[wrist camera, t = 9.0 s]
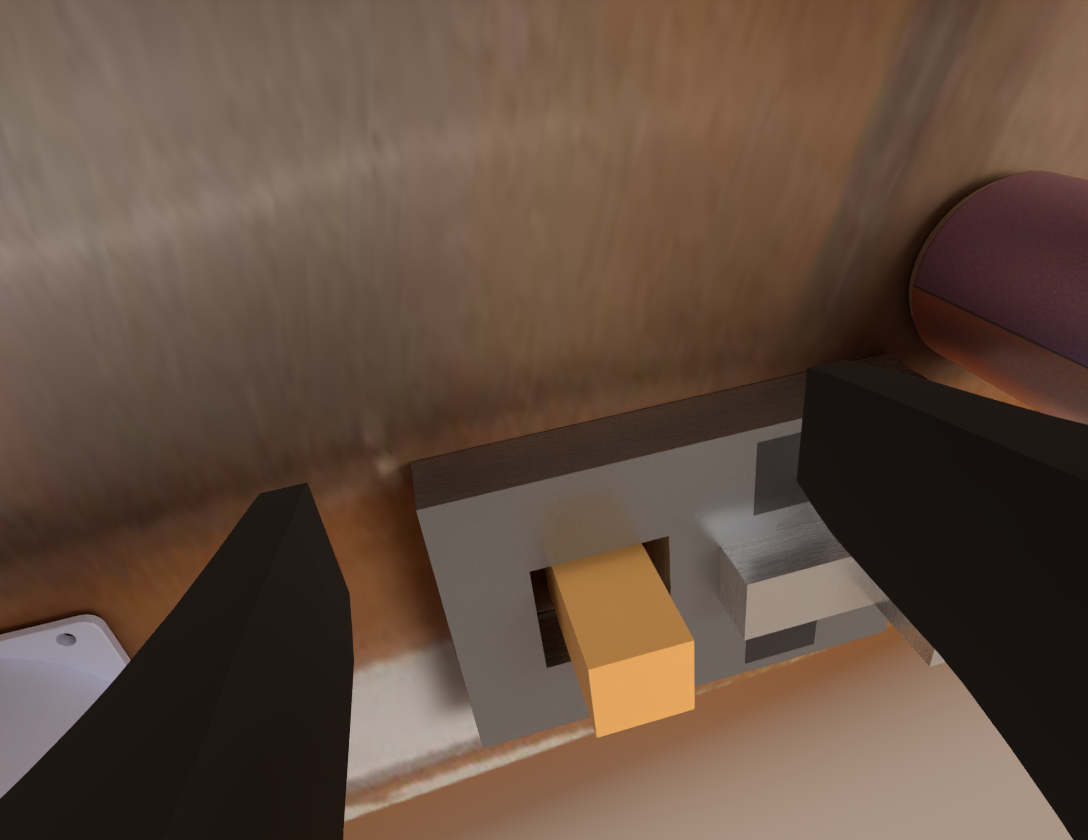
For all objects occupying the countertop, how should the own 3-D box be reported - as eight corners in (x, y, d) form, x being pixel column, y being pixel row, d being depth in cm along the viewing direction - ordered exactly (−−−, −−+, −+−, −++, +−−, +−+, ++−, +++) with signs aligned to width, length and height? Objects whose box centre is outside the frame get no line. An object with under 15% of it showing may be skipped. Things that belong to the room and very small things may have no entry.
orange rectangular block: (547, 591, 25) (596, 737, 20) (538, 528, 23) (588, 670, 18) (626, 570, 25) (694, 708, 20) (622, 507, 23) (694, 640, 18)
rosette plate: (473, 692, 26) (483, 748, 24) (410, 462, 20) (416, 511, 18) (848, 587, 28) (885, 631, 26) (886, 353, 23) (938, 386, 21)
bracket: (719, 600, 23) (787, 709, 20) (720, 545, 22) (794, 652, 18) (887, 554, 24) (982, 650, 20) (898, 499, 23) (1002, 592, 19)
